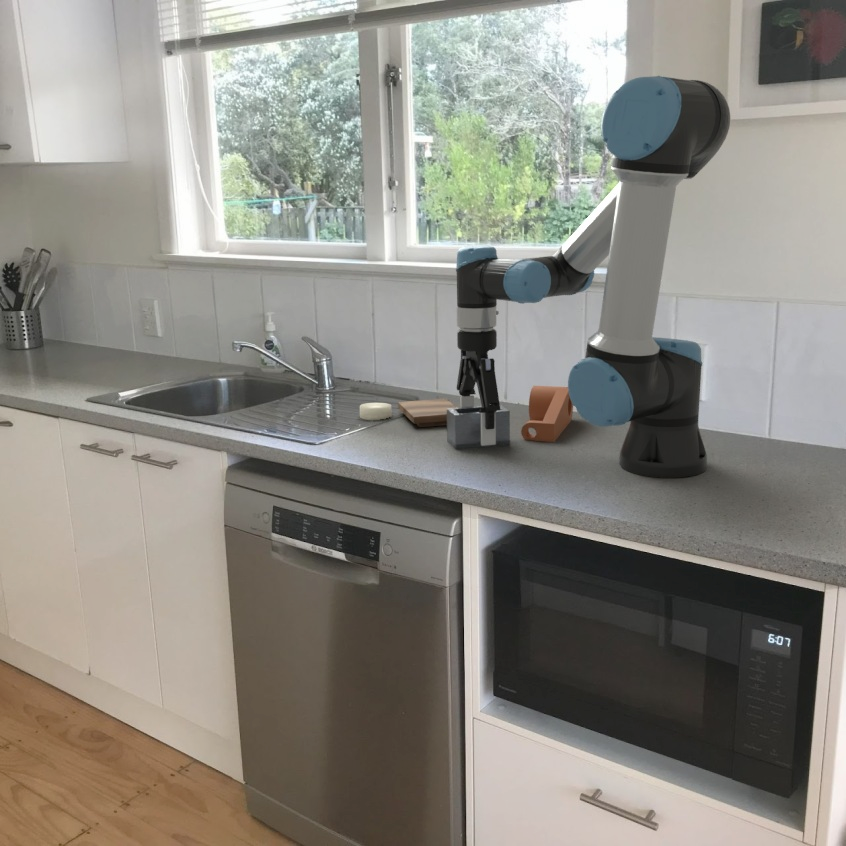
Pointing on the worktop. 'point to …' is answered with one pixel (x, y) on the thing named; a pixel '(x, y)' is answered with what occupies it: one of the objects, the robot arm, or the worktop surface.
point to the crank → (548, 413)
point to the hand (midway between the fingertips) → (477, 435)
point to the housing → (475, 427)
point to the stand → (426, 411)
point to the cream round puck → (375, 411)
